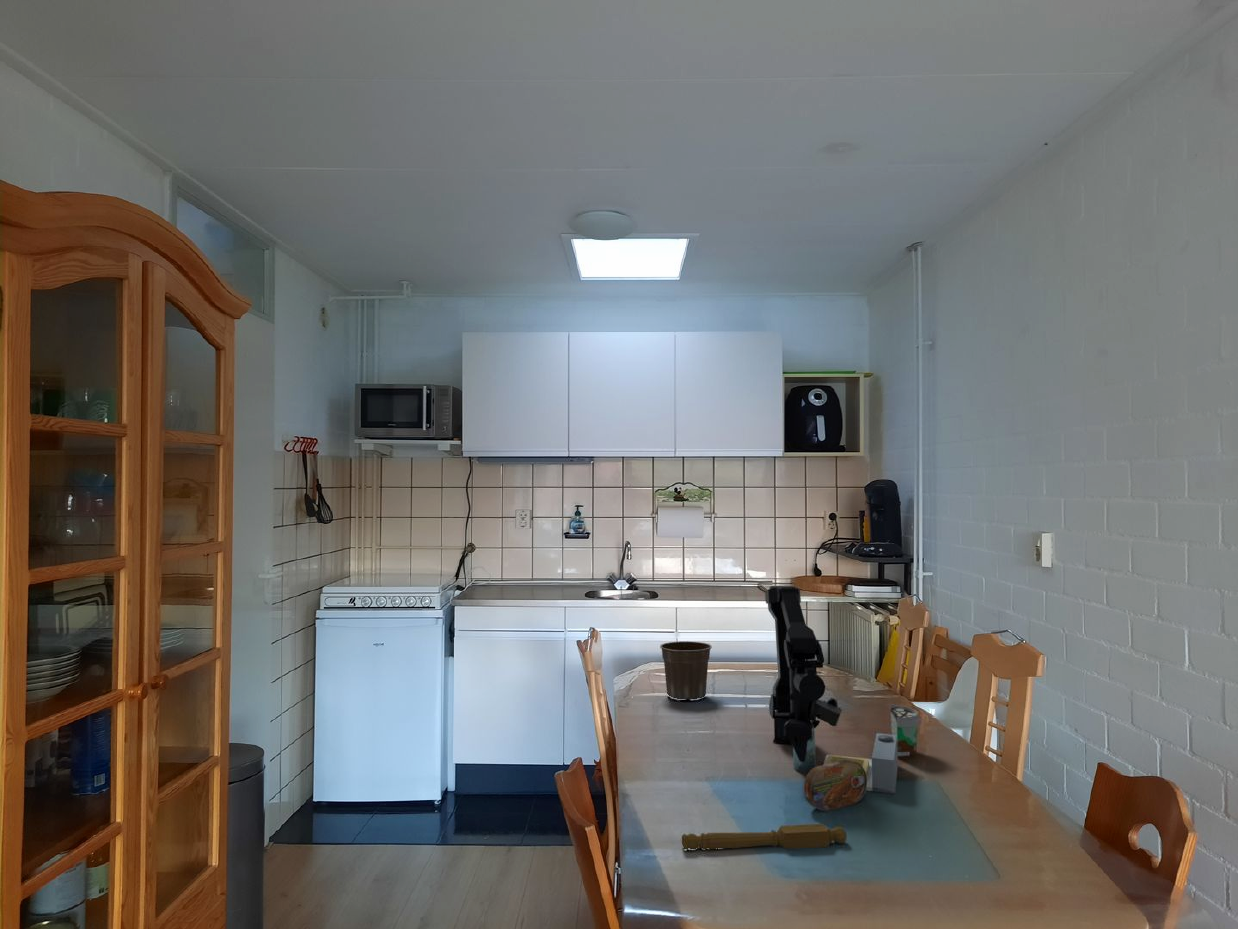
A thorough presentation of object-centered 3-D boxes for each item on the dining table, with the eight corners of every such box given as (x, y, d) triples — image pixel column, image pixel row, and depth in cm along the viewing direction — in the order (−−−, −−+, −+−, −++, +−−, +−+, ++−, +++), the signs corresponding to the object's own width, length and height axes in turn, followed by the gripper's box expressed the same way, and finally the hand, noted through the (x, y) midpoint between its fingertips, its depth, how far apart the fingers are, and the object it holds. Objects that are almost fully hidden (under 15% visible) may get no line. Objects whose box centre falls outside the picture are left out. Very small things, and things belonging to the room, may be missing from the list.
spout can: (791, 771, 176) (790, 726, 177) (794, 763, 181) (793, 719, 182) (814, 773, 174) (813, 728, 175) (817, 766, 179) (816, 722, 180)
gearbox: (817, 784, 168) (816, 749, 168) (826, 758, 185) (826, 725, 185) (894, 794, 162) (893, 757, 162) (897, 765, 179) (896, 732, 179)
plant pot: (678, 688, 254) (677, 638, 254) (721, 695, 244) (720, 643, 245) (651, 699, 240) (650, 647, 241) (695, 706, 231) (694, 652, 232)
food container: (926, 762, 181) (924, 719, 181) (898, 761, 182) (897, 718, 182) (916, 745, 193) (915, 705, 193) (890, 744, 194) (889, 704, 194)
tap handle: (681, 830, 140) (842, 822, 142) (681, 847, 140) (843, 839, 142) (683, 838, 137) (848, 830, 139) (684, 855, 137) (849, 847, 139)
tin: (812, 815, 152) (811, 772, 152) (801, 810, 155) (801, 767, 155) (868, 800, 159) (867, 759, 159) (857, 795, 162) (856, 755, 162)
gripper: (833, 702, 167) (835, 775, 166) (842, 682, 184) (844, 748, 184) (782, 698, 171) (783, 769, 170) (795, 679, 188) (797, 743, 188)
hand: (804, 757), depth 178 cm, fingers open, 6 cm apart
